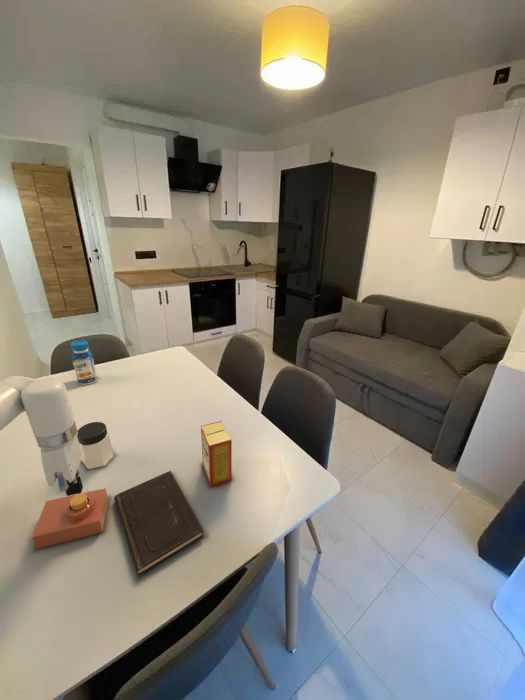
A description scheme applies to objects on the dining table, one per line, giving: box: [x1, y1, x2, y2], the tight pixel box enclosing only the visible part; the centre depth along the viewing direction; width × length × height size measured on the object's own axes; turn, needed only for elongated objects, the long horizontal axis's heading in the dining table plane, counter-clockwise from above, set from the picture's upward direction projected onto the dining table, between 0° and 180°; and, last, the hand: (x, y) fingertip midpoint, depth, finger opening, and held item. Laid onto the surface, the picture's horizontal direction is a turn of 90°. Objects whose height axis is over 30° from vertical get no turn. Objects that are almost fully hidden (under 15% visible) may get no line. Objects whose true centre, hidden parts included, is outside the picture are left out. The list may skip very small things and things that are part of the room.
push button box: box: [31, 487, 109, 549], centre depth 74 cm, size 14×10×6 cm
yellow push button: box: [70, 492, 88, 511], centre depth 73 cm, size 4×4×2 cm
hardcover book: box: [114, 470, 205, 576], centre depth 77 cm, size 16×23×2 cm
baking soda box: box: [200, 420, 233, 487], centre depth 89 cm, size 10×6×16 cm
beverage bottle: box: [70, 339, 98, 386], centre depth 135 cm, size 8×8×20 cm
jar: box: [77, 421, 114, 470], centre depth 92 cm, size 9×8×12 cm
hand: (75, 491), depth 71 cm, fingers closed
